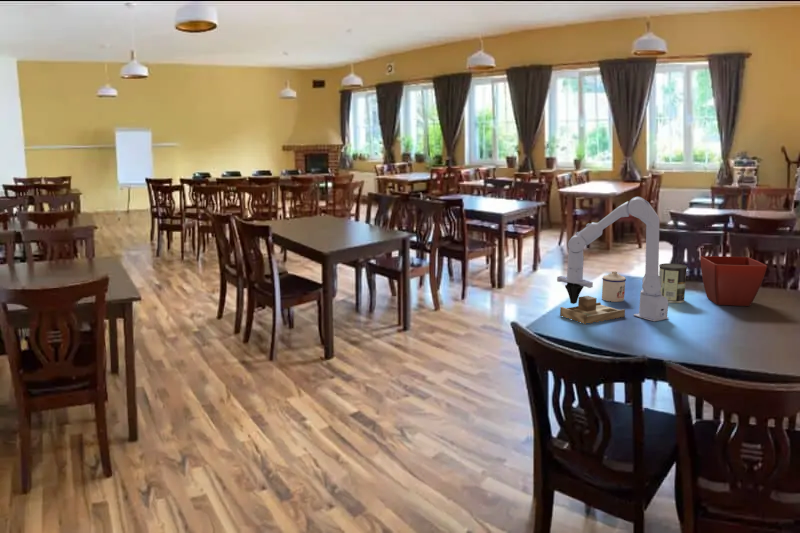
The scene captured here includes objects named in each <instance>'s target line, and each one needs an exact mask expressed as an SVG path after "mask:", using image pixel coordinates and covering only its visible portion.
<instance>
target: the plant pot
mask: <svg viewBox="0 0 800 533" xmlns="http://www.w3.org/2000/svg"><path fill="white" fill-rule="evenodd" d="M699 258H700V270H701V276H702V282H703V288H704V291H705V295H706V298H707V299H708V300H710V301H712V302H713V303H714V304H716V305H717V306H718V305H719V306H742V307H745V306H746V307H750V306H752V303H753V302H754V301H755V298H756V296H757V295H758V292H759V291H760V288H761V285H762V283H763V280H764V278H765V276H766V271H767V268H768V265H767V264H765V263H763V262H760V261H758V260H756V259H754V258H751V257H748V256H722V255H720V256H719V255H718V256H716V255H715V256H713V255H700V256H699Z"/></svg>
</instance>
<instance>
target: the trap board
mask: <svg viewBox="0 0 800 533" xmlns="http://www.w3.org/2000/svg"><path fill="white" fill-rule="evenodd" d="M559 310H560V312H559V317H560V316H563V317H566V318H569V319H572V320H575V321H578V322H581V323H584V324H585V325H587V324H586V323H590V324H594V323H593V322H596V323H600V322H599V321H601V322H605V321H604V320H606V321H610V319H611V320H615V318H616V319H621V318H625V316H626V315H625V314H626V309H625V308H623V309H618V308H614V307H610V306H607V305H603V304H602V303H601V302H596V310H593V311H588V312H586V311H583V310H580V309H578V305H577V306H572V307H564V306H561V307H560V308H559ZM563 317H562V318H563ZM620 317H621V318H620ZM566 318H565V319H566ZM569 319H568V320H569ZM572 320H571V321H572ZM575 321H574V322H575ZM578 322H577V323H578ZM581 323H580V324H581ZM584 324H583V325H584Z"/></svg>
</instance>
